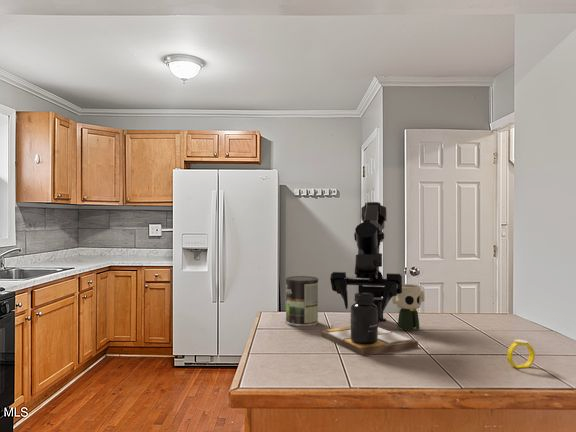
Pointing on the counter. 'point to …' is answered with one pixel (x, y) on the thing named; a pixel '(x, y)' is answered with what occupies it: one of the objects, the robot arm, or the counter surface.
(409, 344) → the wooden tray
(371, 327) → the supplement bottle
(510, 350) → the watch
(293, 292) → the coffee can
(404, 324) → the character mug
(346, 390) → the counter surface
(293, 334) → the counter surface
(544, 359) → the counter surface
